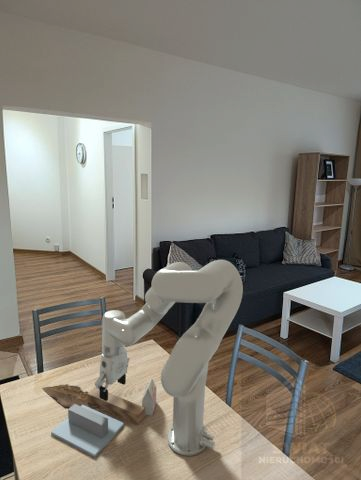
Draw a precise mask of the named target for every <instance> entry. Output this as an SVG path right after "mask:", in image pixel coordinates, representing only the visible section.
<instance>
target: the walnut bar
mask: <svg viewBox="0 0 361 480" xmlns="http://www.w3.org/2000/svg"><path fill="white" fill-rule="evenodd" d="M88 392H89V393H87V398H88V403H91V404H93V405H96V406H98V409H100V410H104V411H106V412H108V413H110V414H112V415H115V416H117V417H119V418H122V419H124V420H126V421H128V422H130V423H133V424H135V425H137V426H139V425H140V424H141V422H142V421H143V420H144V419H145V417H146V415H145V407H142V405H140V404H137V403H135V402H132V401H129V400H128V399H125V398H122V397H120V396H118V395H115V394H112V393H111V392H108V400H107V401H105V400H102V399H100V397H99V394H100V390H99V389H97V388H96V386H95V387H93V388H92V389H91V390H90V391H88Z"/></svg>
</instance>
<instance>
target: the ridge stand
mask: <svg viewBox="0 0 361 480" xmlns="http://www.w3.org/2000/svg"><path fill="white" fill-rule="evenodd" d="M67 414H68V415H67V418H65V419H64V420H63V421H62V422H61V423H59V424H58V425H57V426H56V427H55V428H53V429H52V430H51V431H50V434H51V436H53V437H56V438H57V439H59V440H60V441H63V442H65V443H66V444H69V445H70V446H72V447H74V448H76V449H77V450H80V451H82V452H84V453H85V454H88V455H89V456H91V457H93V458H96V457H97V456H98V455H99V454H100V453H101V451H102V450H104V448H105V447H106V446H107V445H108V444H109V443H110V442H111V441H112V439H113V438H114V437H115V436H116V435H117V434H118V433H119V432H120V431H121V430H122V429H123V427H124V426H125V423H124V422H122V421H120V420H118V419H115V418H114V417H111V416H109V415H107V414H105V413H102V412H100V411H98V410H96V409H95V408H89V407H87V406H85V405H82V406H79V405H76V404H74V405H73V406H71V407H68V409H67Z"/></svg>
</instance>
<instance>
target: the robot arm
mask: <svg viewBox="0 0 361 480" xmlns="http://www.w3.org/2000/svg"><path fill="white" fill-rule="evenodd" d="M243 287H244V286H243V281H242V277H241V275H240V272H239V270H238V268H237V267H236V266H235V265H234V264H233V263H232V262H230V261H229V260H226V259H217V260H212V261H210V262H209V263H207V264H206V265H204V266H203V267H202V268H200V269H197V270H193V268H192V267H191V266H190V265H189V264H188V263H185V262H183V261H177V262H176V261H175V262H172V263H171V264H169V265H167V266H165V267H163V268H161V269H159V270H158V271H156V273H155V274H154V276H153V277H152V280H151V287H149V289H148V290H147V291H146V293H145V295H144V300H145V304H144V305H143V306H142V307H141V308H140V309H139V310H138V311H137V312H136V313H134V314H132V315H131V316H130V317H128V318H126V314H125V313H124V312H123V311H121V310H118V309H115V310H114V309H112V310H108V311H105V312H104V313H103V316H102V319H101V321H102V322H101V324H102V325H101V326H102V327H101V329H102V331H101V332H102V333H101V355H100V356H101V357H100V363H99V376H98V377H97V379H96V381H95V383H94V386H95V387H96V388H97V389H99V390H100V394H99V397H100V399H102V400H105V401H107V400H108V393H109V390H108V387H109V386H111V385H113V384H115V383H116V382H117V383H119V384H121V385H123V386H124V385H126V383H127V382H126V381H127V380H126V377H127V375H126V374H127V373H128V367H129V362H130V358H129V357H128V352H127V351H128V350H127V348H126V346H132V345H134V344H135V343H137V342H138V341H139V340H140V339H142V337H144V336H145V335H146V334H148V333H149V332H150V331H152V329H153V328H154V327H156V325H157V324H158V323H159V322H160V321H161V319H163V318H164V316H165V315H166V314H167V313H168V311H169V310H170V309H171V308H172V307H173V306H174V304H176V303H190V304H195V303H196V304H205V305H204V307H203V308H202V311H201V313H200V314H199V316H198V318H197V319H196V321H195V322H194V324H192V325H191V326H190V327H189V328H188V329H187V330H186V331H185V332H184V333H183V334H182V336H181V337H180V338H178V340H177V341H176V342H175V344H174V347H173V349H172V350H171V352H170V354H169V355H168V358H167V360H166V362H165V364H164V366H163V368H162V370H161V373H160V383H161V386H162V389H163V390H164V391H165V393H166V394H168V395H169V396H171V397H173V401H172V402H173V403H172V404H173V408H172V409H173V410H172V426H171V427H170V428H169V430H168V432H167V443H168V445H169V447H170V448H171V450H172V451H173V452H175V453H177V454H179V455H182V456H187V457H189V456H195V455H198V454H200V453H202V452H203V451H204V450H205V448H206V447H207V448H208V449H211V450H214V449H215V445H216V443H215V441H214V439H215V438H214V437H215V435H212V434H209V433H208V432H207V427H206V426H205V425H204V417H205V398H206V397H205V395H206V384H207V378H208V370H209V361H210V360H211V359H212V358H213V356H214V355H215V354H216V351H217V350H218V349H219V346H220V345H221V342H222V340H223V338H224V336H225V334H226V332H227V331H228V329H229V327H230V325H231V323H232V322H233V320H234V318H235V316H236V315H237V312H238V310H239V308H240V305H241V303H242V299H243V293H244V290H243V289H244V288H243ZM104 383H105V385H104Z"/></svg>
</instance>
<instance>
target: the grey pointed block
mask: <svg viewBox="0 0 361 480" xmlns="http://www.w3.org/2000/svg"><path fill="white" fill-rule="evenodd" d="M156 405H157V386H156V384H155V382H154V379H153V378H150V380H149V382H148V383H147V385H146V388H145V390H144V394H143V397H142V399H141V406H142V407H145V416H153V415H154V411H155V409H156Z"/></svg>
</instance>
